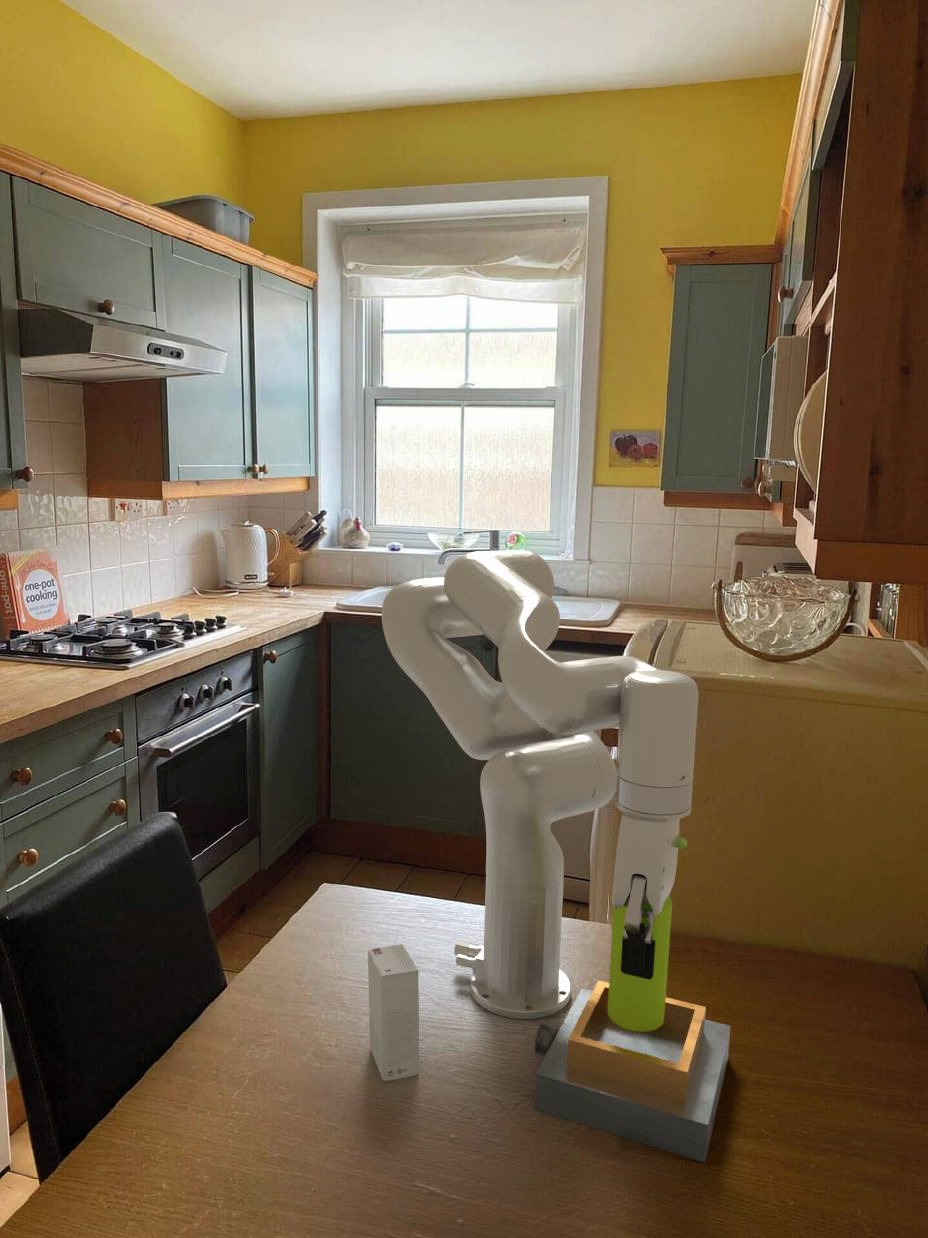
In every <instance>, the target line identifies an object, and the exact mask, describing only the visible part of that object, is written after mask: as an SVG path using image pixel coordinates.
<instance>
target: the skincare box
mask: <svg viewBox="0 0 928 1238" xmlns="http://www.w3.org/2000/svg"><path fill="white" fill-rule="evenodd" d="M419 972H420V971H419V970H418V967H417V966H416V965H415V962H414V961H413V959H412V958H411V956H410V954H409V953H408V951H407V949H406V948H405V946H404V944H402V943H401V944H394V945H390V946H389V945H388V946H382V947H378V948H377V947H376V948H371V949H369V950H368V951H367V973H368V977H367V978H368V1009H369V1011H368V1017H369V1020H368V1021H369V1048H370V1052H371V1054H372V1057H373V1059H374V1062H375V1065H376V1067H377V1070H378V1072H379V1074H380V1077H381V1080H382V1081H383V1082H389V1081H395V1080H400V1079H405V1078H410V1077H414V1076H418V1075H419V1073H420V1009H419V1008H420V1007H419V1003H420V1002H419V1001H420V997H419V994H420V993H419Z"/></svg>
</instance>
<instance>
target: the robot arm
mask: <svg viewBox="0 0 928 1238" xmlns="http://www.w3.org/2000/svg"><path fill="white" fill-rule="evenodd" d="M553 575H554V574H553V572H552V569H551V567H550V565H549V564H548V563H547V561H546V560H545V559H544V558H543V557H542V556H540V555H539V554H537V553H535V552H532V551H529V550H521V549H519V550H510V549H508V550H481V551H479V550H478V551H473V552H468V553H464V554H463V555H461V556H459V557H457V558H455V559H454V560H453V561H452V562H451V563H450V565H448V567H447V569H446V571H445V573H444V577H443V576H442V577H441V576H440V577H439V576H437V577H425V578H424V577H423V578H417V579H411V580H407V581H405V582H402V583H400V584H397V585H395V586H394V587H393V588H392V589H391V590H389V592H388V593H387V594H386V596H385V597H384V599H383V602H382V607H381V623H382V624H381V625H382V631H383V634H384V638H385V641H386V644H387V647H388V649H389V651H390V653H391V655H392V657H393V659H394V660H395V662H396V663H397V665H398V666H399V667H400V668H401V670H403V672H404V673H405V674H406V675H407V676H408V677H409V678H410V680H412V681H413V682H414V684H415V685H416V686H417V687H418V688H419V689H420V690H421V691H422V692H423V694H424V695H425V696H426V697H427V699H428V700H429V702H430V703H431V705H432V707H433V708H434V710H435V712H436V713H437V715H438V716H439V718H440V719H441V720H442V721H443V723H444V725H445V726H446V728H447V729H448V731H449V732H450V734H451V735H452V737H453V738H454V739H455V741H456V742H457V744H458V746H460V748H461V749H462V751H464V753H465V754H467V755H468V756H469V757H470V758H472V759H475V760H477V761H486V763H485V765H484V766H483V769H482V770H481V774H480V780H479V781H480V782H479V784H480V785H479V786H480V787H479V790H480V798H481V803H482V807H483V813H484V814H483V815H484V822H485V824H484V825H485V833H486V834H485V838H486V840H485V841H486V849H485V850H486V851H485V853H486V858H485V897H484V898H485V899H484V902H485V903H484V924H483V925H484V927H483V928H484V930H483V932H484V933H483V943H480V944H479V945H476V944H473V943H472V942H467V941H463V940H459V939H458V940H457V941H456V943H455V945H454V952H453V953H454V956H456V958H455V959H456V960H455V964H456V966H459V967H463V968H469V969H472V971H473V972H472V973H471V976H470V980H469V981H470V983H469V988H470V990H469V991H470V994H471V996H472V998H473V999H474V1000H475V1002H476V1003H478V1004H479V1005H480V1007H482V1008H483V1009H486V1010H487V1011H489V1012H491V1013H493V1014H496V1015H498V1016H502V1017H504V1018H511V1019H516V1020H517V1019H518V1020H519V1019H520V1020H531V1019H532V1020H534V1019H535V1020H536V1019H540V1018H545V1017H549V1016H551V1015H554V1014H556V1013H558V1012H559V1011H561V1010H562V1009H563V1008H564V1007H566V1006H567V1004H568V1003H569V1001H570V999H571V996H572V995H571V994H572V984H571V980H570V979H569V977H568V976H567V974H566V973H565V972H564V971H563V970H562V969H560V968H561V967H560V961H561V946H562V945H561V944H562V943H561V942H562V941H561V940H562V920H563V918H562V917H563V901H564V900H563V899H564V880H565V879H564V878H565V877H564V876H565V875H564V872H565V859H564V853H563V850H562V848H561V846H560V844H559V843H558V841H557V839H556V837H555V836H554V834H553V833H552V832H553V831H552V830H551V825H552V823H553V822H556V821H559V820H562V819H566V818H571V817H573V816H578V815H582V814H586V813H589V812H593V811H595V810H598V809H601V808H603V807H605V805H608V804H609V802H611V800H612V799H613V798H614V796H615V804H614V805H615V807H616V808H617V809H618V810H619V811H620V812H622V813H621V818H620V823H619V830H618V834H617V835H618V836H617V844H616V851H615V852H616V854H615V861H614V862H615V863H614V872H613V881H612V893H611V905H612V907H613V909H614V908H617V909H618V908H622V907H623V905H624V903H625V901H626V900H627V898H628V900H627V908H626V916H625V924H624V932H623V939H622V957H621V971H622V973H624V974H628V975H632V976H636V977H640V978H645V979H649V980H650V979H652V977H653V974H654V958H655V942H656V941H655V940H652V939H653V930H654V922H655V916H656V915H658V914H659V913H661V911H662V909H663V907H664V905H665V903H666V901H667V898H668V896H670V894H671V891H672V889H673V886H674V884H675V879H676V873H677V867H678V866H677V865H678V855H679V848H677V847H675V844H676V840H677V838H678V836H679V837H680V820H681V819H683V818H685V817H686V818H687V817H688V816H689V815H690V814H691V812H692V801H693V800H692V799H693V785H694V769H695V755H696V754H695V753H696V737H697V723H698V722H697V721H698V709H699V708H698V706H699V689H698V685H697V683H696V681H695V679H693V678H692V677H691V676H689V675H686V674H684V673H681V672H678V671H672V670H664V669H659V668H657V667H655V666H653V665H652V664H650V663H648V662H646V661H644V660H642V659H641V658H638V657H635V656H627V655H617V656H616V655H615V656H607V657H594V658H586V659H579V660H577V659H576V660H569V661H563V662H560V661H557V660H556V659H554V658H553V657H551V656H550V655H549V654H547V653H546V652H545V651H546V650H547V649H548V647H550V645H551V644H552V643H553V642H554V640H555V638H556V636H557V635H558V631H559V629H560V628H559V627H560V624H561V619H560V618H561V615H560V610H559V608H558V605H557V604H556V602H555V601H554V600H553V599H552V597H553V596H554V595H553V594H554V590H555V580H554V576H553ZM482 635H484V636H485V637H486V638H487V639H489V641H491V642H492V643H493V645H495V646H496V647H497V648H498V652H497V664H498V665H497V667H498V670H499V675H500V678H501V681H498V680H496V679H494V678H493V677H492V676H491V675H490V674H489V673H488V671H487V670H486V669H485V667H484V666H483V665H482V663H481V662H480V661H479V660H478V659H477V658H476V657H475V656H474V655H473V654H472V653H471V652H469V651H468V650H466V649H464V648H463V647H461V646H460V645H457V644H456V643H454V642H451V641H450V640H449V639H451V638H461V637H470V636H471V637H472V636H482ZM615 728H618V729H619V730H618V744H617V746H618V748H617V764H616V765H615V762H614V758H613V757H612V755H611V753H610V751H609V750H608V748H607V747H606V745H605V744H604V742H603V741H602V740H601V738H600V737H599V736H598V735H597V733H596V732H595V731H599V730H605V729H615ZM646 888H647V889H646ZM644 903H646V904H650V905H651V909H650V910H648V909H643V904H644ZM641 915H642V916H647V917H648V921H647V929H646V926H645V923H641V922H642V920H641Z"/></svg>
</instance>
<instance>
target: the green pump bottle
mask: <svg viewBox="0 0 928 1238" xmlns="http://www.w3.org/2000/svg"><path fill="white" fill-rule="evenodd" d="M675 847H677V848H678V849H680V850H685V849H686V848H687V847H688V840H687V839H686V838H684V837H681V836H680V835H679V836H678V838H677V840H676V844H675ZM646 889H647V888H646ZM627 900H628V898H627ZM627 900H626V901H625V903H624V905H623V907H622V908H618V909H617V908H614V907H613V912H612V915H613V916H612V928H611V930H612V931H611V932H612V933H611V944H610V945H611V949H610V963H609V976H608V977H609V978H608V980H609V981H608V983H609V993H608V1010H607V1012H608V1016H609V1018H610V1019H611V1020H612V1021H613V1022H614V1023H615V1024H617V1025H618V1026H620V1027H622V1028H625V1029H628V1030H632V1031H638V1032H646V1031H652V1030H655V1029H657V1028H659V1027H660V1026H661V1025H662V1024H663V1022H664V1014H665V1000H666V997H667V983H668V970H669V969H668V967H669V957H670V956H669V954H670V941H671V940H670V939H671V930H672V928H671V927H672V926H671V925H672V913H673V911H672V910H673V899H672V898H671V896H670V895H669V896H668V898H667V901H666V903H665V905H664V907H663V909H662V911H661V913H659V914H658V915H656V916H655V922H654V930H653V939H652V940H655V941H656V942H655V958H654V974H653V977H652V979H650V980H649V979H645V978H640V977H636V976H632V975H628V974H624V973H622V971H621V957H622V939H623V932H624V924H625V916H626V908H627ZM643 909H648V910H650V909H651V905H650V904H646V903H644V904H643ZM641 920H642V922H641V923H645V926H646V929H647V921H648V917H647V916H642V915H641Z"/></svg>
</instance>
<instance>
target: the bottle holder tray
mask: <svg viewBox="0 0 928 1238" xmlns="http://www.w3.org/2000/svg"><path fill="white" fill-rule="evenodd" d="M608 993H609V982H606V981H603V980H598V981H597V983H596V984H595V986H594V988H593V990H592V989H591V990H590V989H587V988H583V987H582V988H581V989H580V991H579V993H578V995H577V997H576V999H575V1001H574V1002H573V1004H572V1006H571V1008H570V1009H569V1011H568V1012H567V1013H568V1014H567V1015H566V1017H565V1019H564V1021H563V1023H562V1024H561V1026H560V1028H558V1027H554V1026H550V1025H546V1024H544V1023H541V1024H540V1025H539V1027H538V1028H537V1032H536V1036H535V1042H534V1052H535V1053H536V1054H538V1055H542V1056H544V1057H543V1059H542V1061H541V1063H540V1065H539V1067H538V1069H537V1071H536V1072H535V1084H534V1106H533V1107H534V1108H533V1110H535V1111H538V1112H541V1113H545V1114H548V1115H551V1116H554V1117H557V1118H561V1119H563V1120H566V1121H569V1122H572V1123H576V1124H580V1125H583V1126H586V1127H589V1128H592V1129H594V1130H598V1131H601V1132H605V1133H608V1134H611V1135H614V1136H617V1137H621V1138H623V1139H627V1140H629V1141H630V1140H631V1141H633V1142H636V1143H640V1144H642V1145H647V1146H649V1147H653V1148H656V1149H659V1150H662V1151H666V1152H668V1153H672V1154H675V1155H678V1156H681V1157H685V1158H688V1159H691V1160H694V1161H696V1162H701V1163H703V1164H706V1160H707V1158H708V1157H707V1156H708V1152H709V1147H710V1142H711V1138H712V1135H713V1134H712V1133H713V1129H714V1125H715V1120H716V1115H717V1109H718V1107H719V1101H720V1098H721V1097H720V1096H721V1092H722V1088H723V1083H724V1077H725V1073H726V1069H727V1064H728V1059H729V1048H730V1036H731V1025H729V1024H725V1023H720V1022H716V1021H713V1020H709V1019H706V1012H707V1011H706V1009H707V1007H706V1006H704V1005H699V1004H695V1003H691V1002H687V1001H683V1000H680V999H679V1000H678V999H676V998H670V997H667V996H666V1000H665V1014H664V1022H663V1024H662V1025H661V1026H660V1027H659V1028H657V1029H655V1030H652V1031H646V1032H638V1031H632V1030H628V1029H625V1028H622V1027H620V1026H618V1025H617V1024H615V1023H614V1022H613V1021H612V1020H611V1019H610V1018H609V1016H608V1012H607V1010H608Z"/></svg>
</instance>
